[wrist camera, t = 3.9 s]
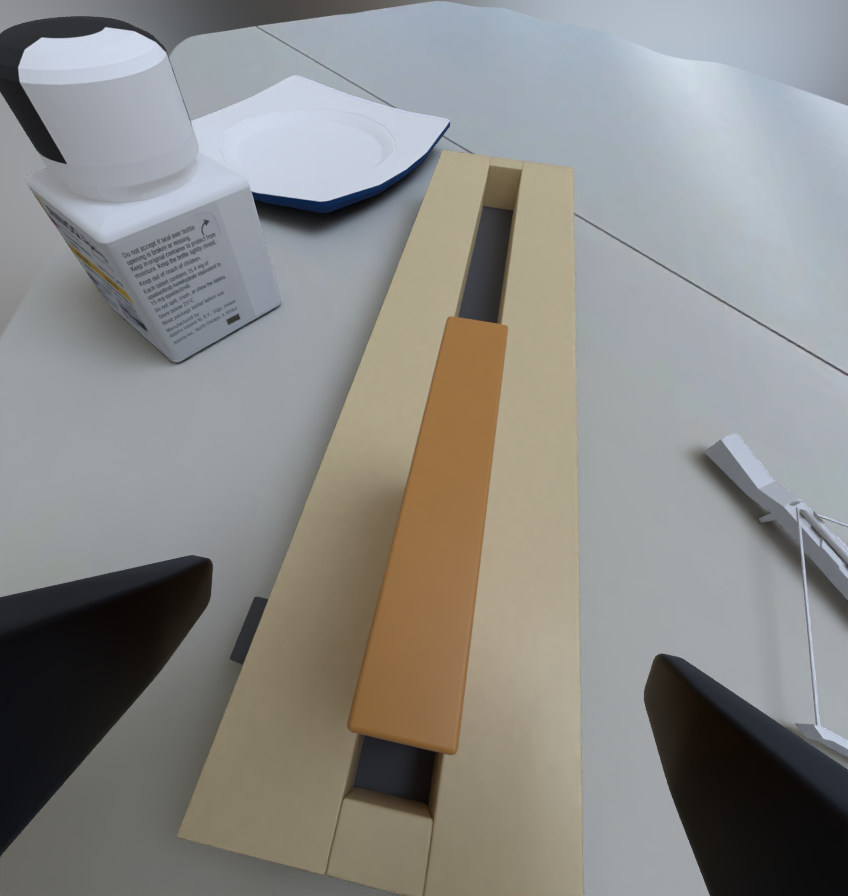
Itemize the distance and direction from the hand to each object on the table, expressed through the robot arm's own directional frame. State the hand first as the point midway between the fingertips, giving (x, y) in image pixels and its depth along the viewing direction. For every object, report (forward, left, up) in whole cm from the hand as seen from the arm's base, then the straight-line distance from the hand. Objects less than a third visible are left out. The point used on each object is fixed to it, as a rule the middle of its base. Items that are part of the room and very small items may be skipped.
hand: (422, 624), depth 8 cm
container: (+3, +25, -9) cm, 27 cm away
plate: (+20, +38, -9) cm, 44 cm away
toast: (+2, +1, -8) cm, 9 cm away
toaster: (+12, +9, -9) cm, 18 cm away
